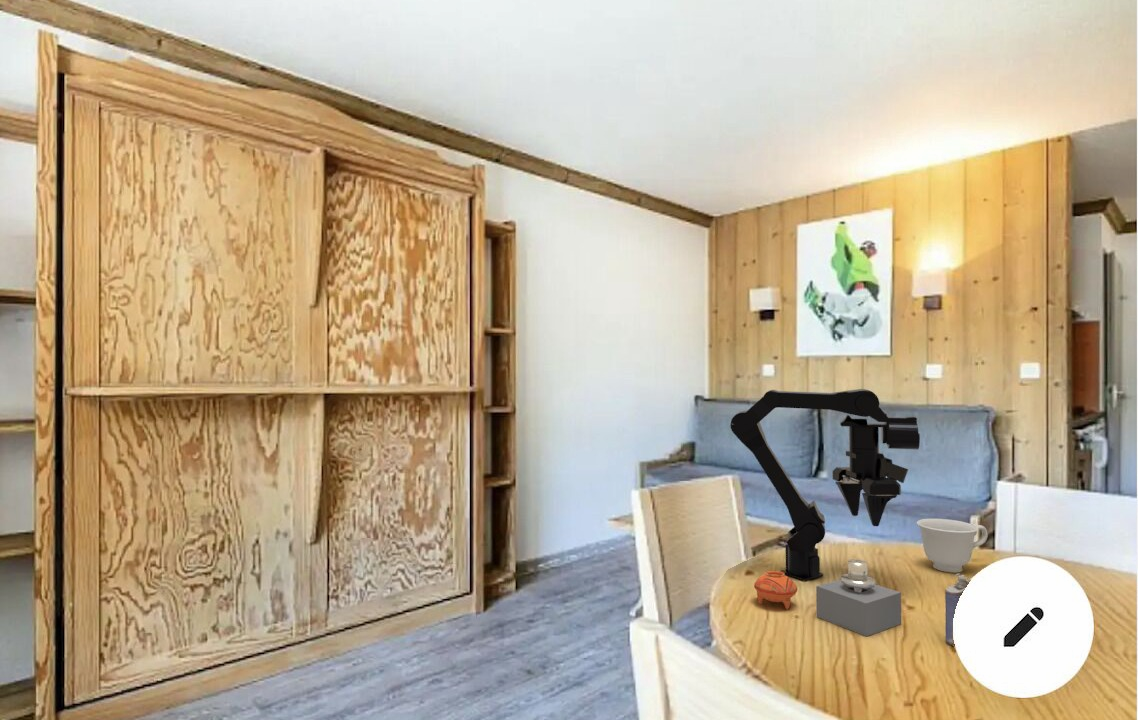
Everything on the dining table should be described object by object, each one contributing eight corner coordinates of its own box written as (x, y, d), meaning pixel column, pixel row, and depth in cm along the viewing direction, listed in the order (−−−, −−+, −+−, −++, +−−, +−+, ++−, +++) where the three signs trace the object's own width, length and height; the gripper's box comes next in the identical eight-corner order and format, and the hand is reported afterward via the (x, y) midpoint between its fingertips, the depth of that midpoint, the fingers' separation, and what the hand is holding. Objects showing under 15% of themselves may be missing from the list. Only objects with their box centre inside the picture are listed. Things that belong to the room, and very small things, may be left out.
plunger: (829, 616, 114) (829, 560, 114) (853, 609, 117) (852, 554, 117) (863, 630, 108) (863, 570, 108) (887, 621, 111) (886, 563, 111)
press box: (816, 616, 114) (816, 586, 114) (850, 606, 119) (850, 576, 119) (866, 636, 105) (866, 603, 106) (901, 624, 111) (900, 592, 111)
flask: (957, 648, 101) (956, 582, 101) (939, 642, 103) (938, 577, 103) (987, 636, 105) (986, 572, 106) (968, 630, 108) (967, 568, 108)
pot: (763, 612, 116) (759, 573, 118) (751, 606, 123) (747, 570, 125) (806, 610, 116) (801, 572, 118) (792, 605, 123) (787, 569, 125)
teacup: (1005, 577, 135) (1004, 531, 135) (936, 577, 135) (935, 531, 135) (970, 560, 147) (969, 518, 147) (907, 560, 147) (906, 518, 148)
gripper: (926, 453, 124) (927, 531, 124) (879, 442, 143) (880, 510, 142) (870, 453, 124) (871, 532, 124) (831, 442, 143) (831, 511, 142)
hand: (864, 520), depth 133 cm, fingers open, 9 cm apart
